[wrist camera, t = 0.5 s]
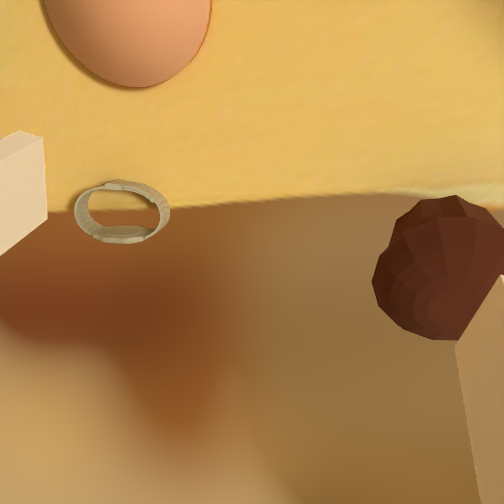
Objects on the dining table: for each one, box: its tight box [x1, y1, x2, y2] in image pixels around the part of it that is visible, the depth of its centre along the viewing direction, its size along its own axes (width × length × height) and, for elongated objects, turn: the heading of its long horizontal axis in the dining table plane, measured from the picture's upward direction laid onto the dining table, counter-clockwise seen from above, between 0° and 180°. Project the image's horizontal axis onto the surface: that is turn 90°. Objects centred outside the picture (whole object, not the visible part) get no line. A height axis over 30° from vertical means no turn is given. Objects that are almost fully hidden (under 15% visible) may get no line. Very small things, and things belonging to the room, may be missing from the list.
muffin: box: [372, 195, 504, 340], centre depth 38 cm, size 12×11×10 cm
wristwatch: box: [74, 179, 170, 244], centre depth 46 cm, size 9×6×5 cm
